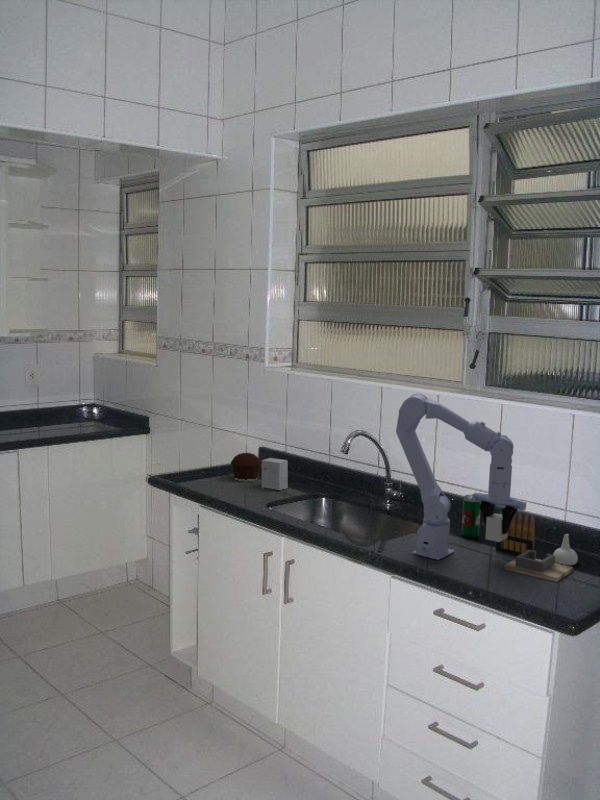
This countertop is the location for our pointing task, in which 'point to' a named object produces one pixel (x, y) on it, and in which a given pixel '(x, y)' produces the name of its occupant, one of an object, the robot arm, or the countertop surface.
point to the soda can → (470, 517)
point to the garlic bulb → (565, 553)
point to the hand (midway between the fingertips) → (496, 531)
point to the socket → (534, 561)
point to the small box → (275, 473)
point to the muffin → (246, 466)
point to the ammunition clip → (518, 537)
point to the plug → (495, 528)
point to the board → (551, 574)
